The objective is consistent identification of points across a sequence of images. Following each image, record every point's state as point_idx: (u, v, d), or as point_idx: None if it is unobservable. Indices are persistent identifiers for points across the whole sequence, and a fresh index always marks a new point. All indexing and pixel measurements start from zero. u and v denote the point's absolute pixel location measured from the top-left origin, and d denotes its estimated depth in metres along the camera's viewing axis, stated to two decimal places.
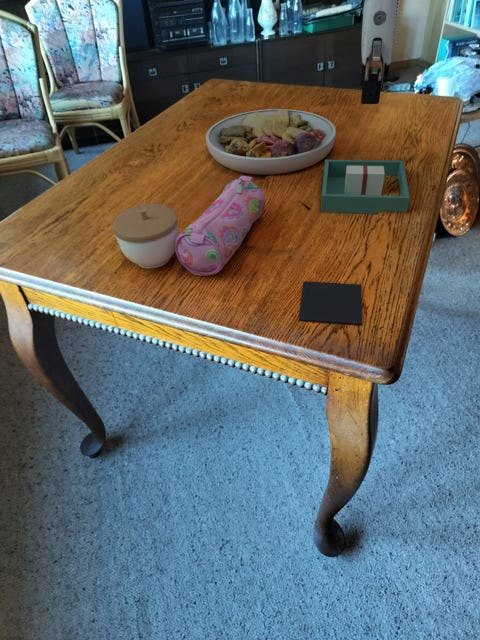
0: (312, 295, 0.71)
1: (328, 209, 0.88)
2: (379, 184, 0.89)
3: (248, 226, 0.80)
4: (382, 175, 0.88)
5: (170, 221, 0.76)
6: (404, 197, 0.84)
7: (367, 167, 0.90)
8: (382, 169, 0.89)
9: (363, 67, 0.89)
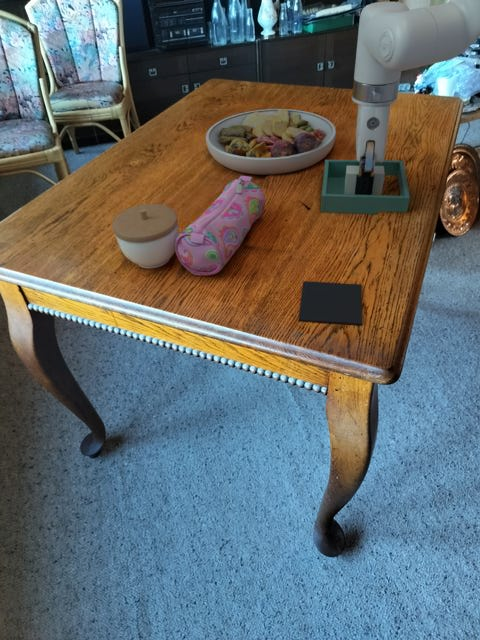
0: (312, 295, 0.71)
1: (328, 209, 0.88)
2: (379, 184, 0.89)
3: (248, 226, 0.80)
4: (382, 175, 0.88)
5: (170, 221, 0.76)
6: (404, 197, 0.84)
7: None
8: (382, 169, 0.89)
9: None
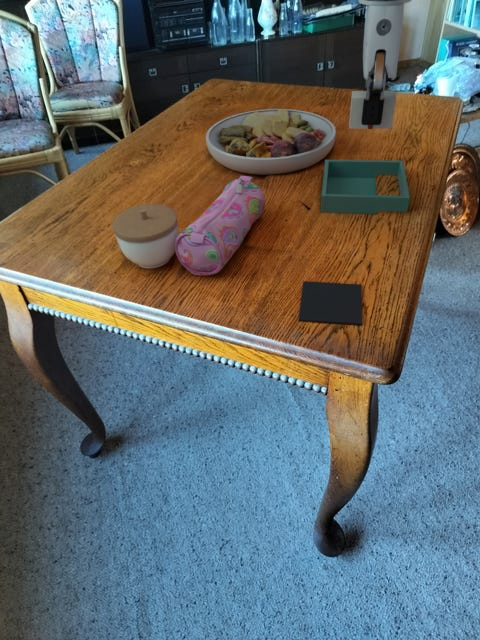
0: (312, 295, 0.71)
1: (328, 209, 0.88)
2: (390, 111, 0.77)
3: (248, 226, 0.80)
4: (393, 99, 0.75)
5: (170, 221, 0.76)
6: (404, 197, 0.84)
7: None
8: (393, 93, 0.76)
9: None
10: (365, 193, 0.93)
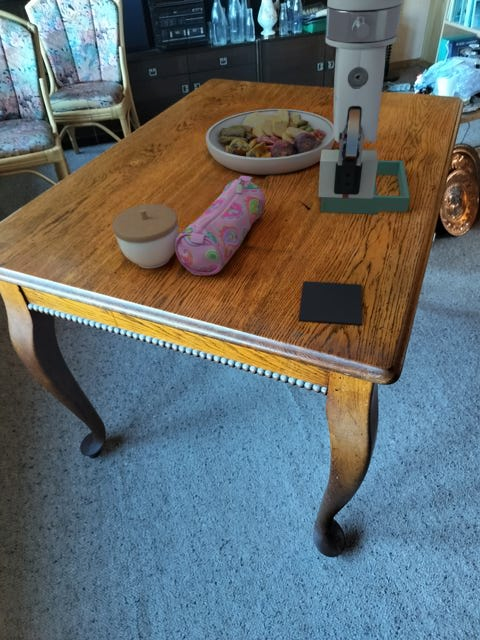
0: (312, 295, 0.71)
1: (328, 209, 0.88)
2: (370, 177, 0.59)
3: (248, 226, 0.80)
4: (374, 163, 0.58)
5: (170, 221, 0.76)
6: (404, 197, 0.84)
7: None
8: (374, 155, 0.59)
9: None
10: None
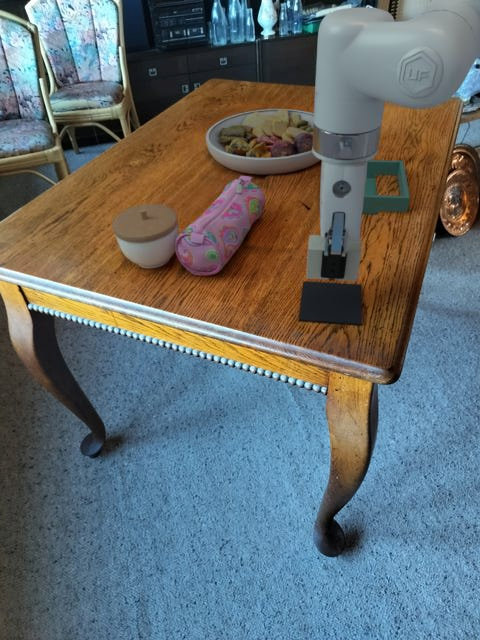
0: (312, 295, 0.71)
1: None
2: (354, 264, 0.63)
3: (248, 226, 0.80)
4: (358, 253, 0.62)
5: (170, 221, 0.76)
6: (404, 197, 0.84)
7: None
8: (358, 244, 0.63)
9: None
10: (365, 193, 0.93)
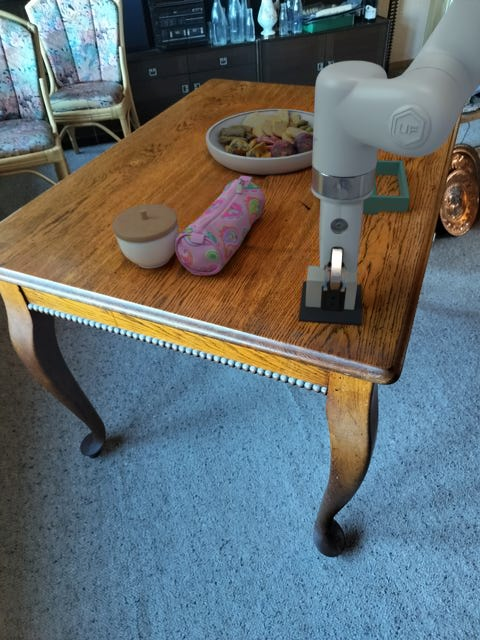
0: None
1: None
2: (350, 294, 0.66)
3: (248, 226, 0.80)
4: (354, 284, 0.65)
5: (170, 221, 0.76)
6: (404, 197, 0.84)
7: None
8: (354, 275, 0.66)
9: None
10: None
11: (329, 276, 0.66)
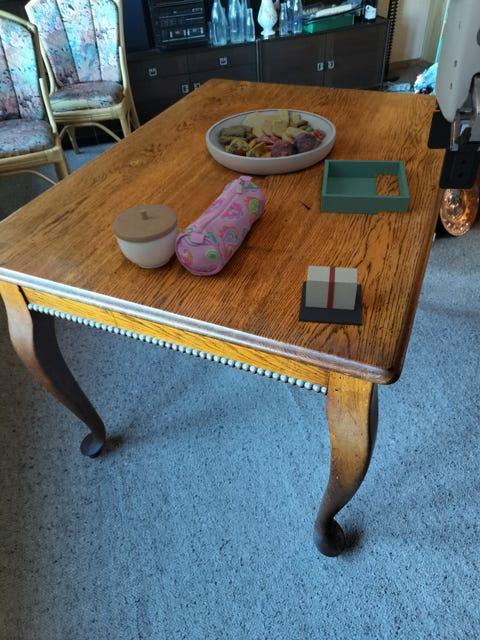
0: None
1: (328, 209, 0.88)
2: (350, 294, 0.66)
3: (248, 226, 0.80)
4: (354, 284, 0.65)
5: (170, 221, 0.76)
6: (404, 197, 0.84)
7: (335, 270, 0.67)
8: (354, 275, 0.66)
9: (435, 117, 0.51)
10: (365, 193, 0.93)
11: (329, 276, 0.66)
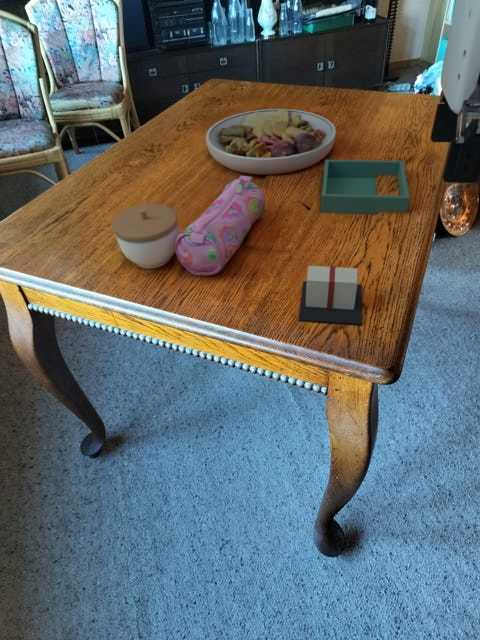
0: None
1: (328, 209, 0.88)
2: (350, 294, 0.66)
3: (248, 226, 0.80)
4: (354, 284, 0.65)
5: (170, 221, 0.76)
6: (404, 197, 0.84)
7: (335, 270, 0.67)
8: (354, 275, 0.66)
9: (440, 110, 0.50)
10: (365, 193, 0.93)
11: (329, 276, 0.66)
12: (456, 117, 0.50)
